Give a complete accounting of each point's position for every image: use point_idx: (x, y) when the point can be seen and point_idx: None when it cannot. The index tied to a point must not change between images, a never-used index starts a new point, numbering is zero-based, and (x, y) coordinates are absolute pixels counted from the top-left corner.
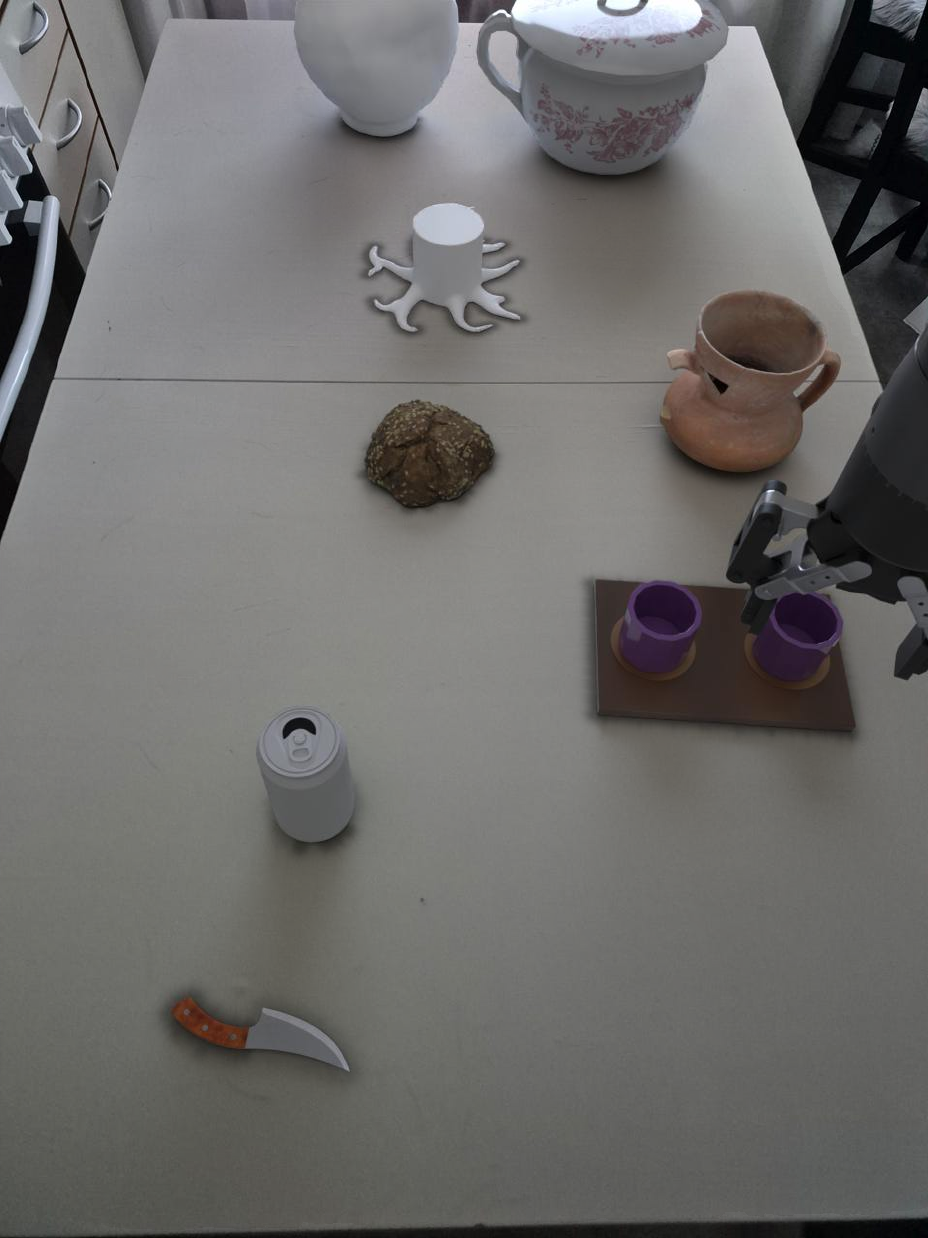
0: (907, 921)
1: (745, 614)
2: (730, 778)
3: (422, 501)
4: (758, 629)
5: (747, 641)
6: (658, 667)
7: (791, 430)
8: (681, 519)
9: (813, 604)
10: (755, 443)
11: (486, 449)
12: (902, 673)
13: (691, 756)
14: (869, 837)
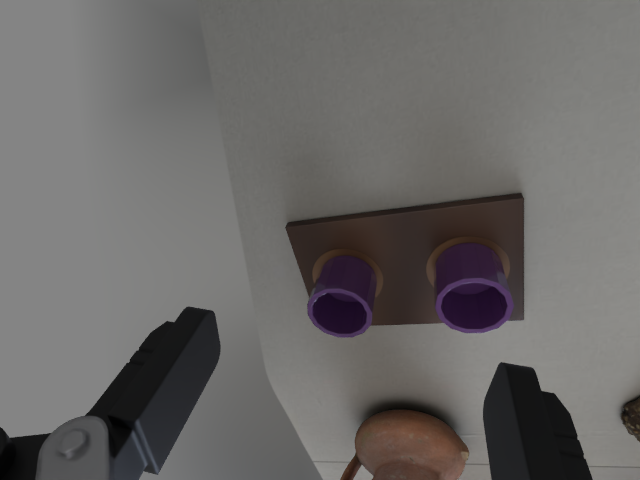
0: (216, 60)
1: (565, 425)
2: (384, 157)
3: None
4: (520, 387)
5: (380, 283)
6: (464, 249)
7: (364, 445)
8: (440, 371)
9: (333, 324)
10: (391, 437)
11: (636, 423)
12: (192, 322)
13: (422, 170)
14: (259, 132)
